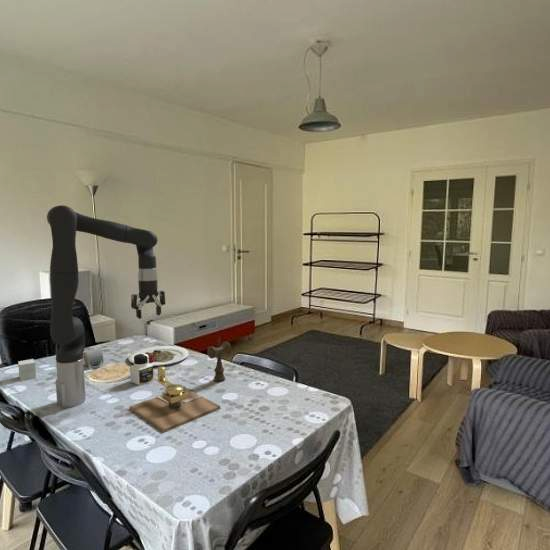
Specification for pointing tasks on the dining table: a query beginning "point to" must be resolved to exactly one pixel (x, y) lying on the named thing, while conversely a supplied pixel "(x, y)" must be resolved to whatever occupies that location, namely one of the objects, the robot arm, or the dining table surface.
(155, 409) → the post base
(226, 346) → the kendama
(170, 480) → the dining table surface
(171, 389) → the gold piece
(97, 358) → the ceramic mug
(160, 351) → the plated food
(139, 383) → the medicine bottle
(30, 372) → the product box
